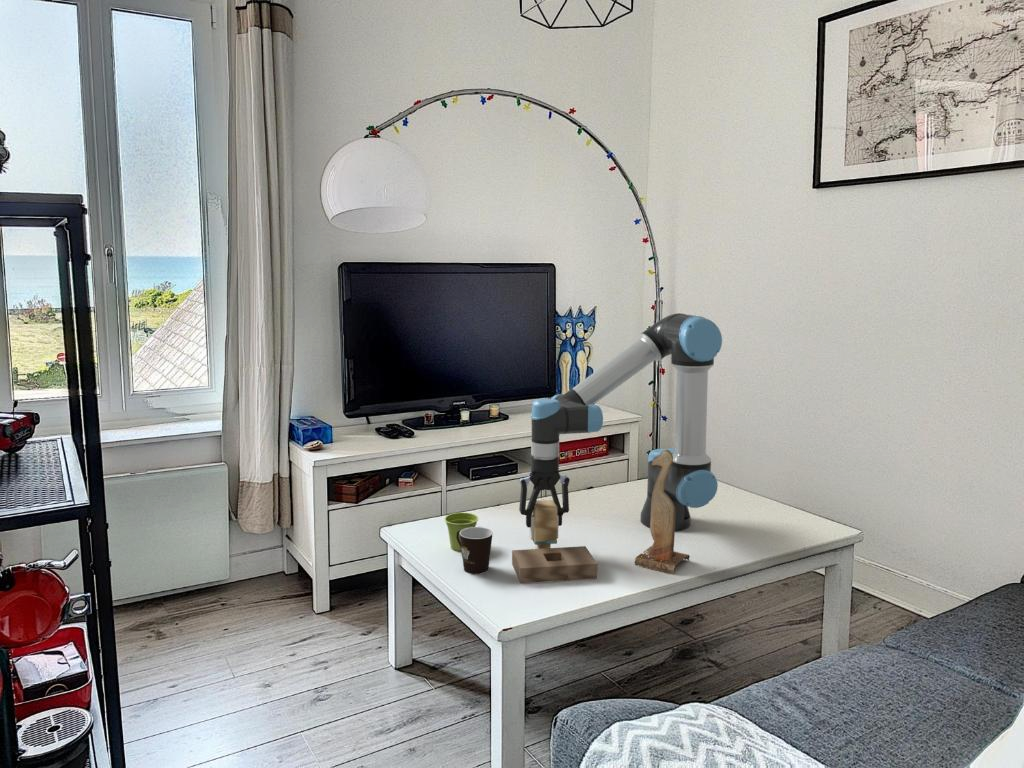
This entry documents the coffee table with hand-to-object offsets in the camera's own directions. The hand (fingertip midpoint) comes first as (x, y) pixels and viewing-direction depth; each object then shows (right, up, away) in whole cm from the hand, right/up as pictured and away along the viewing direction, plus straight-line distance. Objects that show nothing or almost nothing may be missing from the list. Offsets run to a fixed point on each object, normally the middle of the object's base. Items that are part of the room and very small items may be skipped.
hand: (543, 537), depth 216 cm
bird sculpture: (+32, -6, -6) cm, 33 cm away
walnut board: (+2, -7, -12) cm, 14 cm away
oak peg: (0, -4, +1) cm, 4 cm away
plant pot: (-23, -4, +4) cm, 24 cm away
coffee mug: (-19, -6, -9) cm, 22 cm away
